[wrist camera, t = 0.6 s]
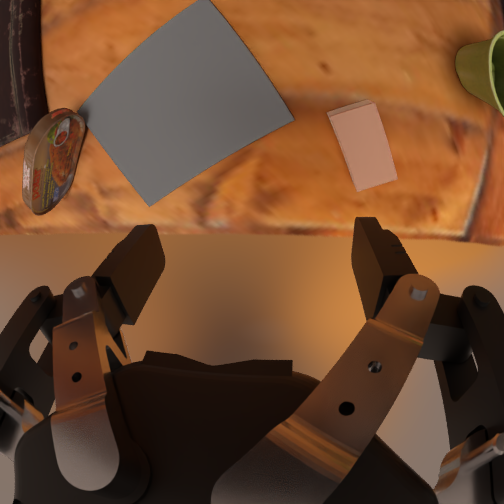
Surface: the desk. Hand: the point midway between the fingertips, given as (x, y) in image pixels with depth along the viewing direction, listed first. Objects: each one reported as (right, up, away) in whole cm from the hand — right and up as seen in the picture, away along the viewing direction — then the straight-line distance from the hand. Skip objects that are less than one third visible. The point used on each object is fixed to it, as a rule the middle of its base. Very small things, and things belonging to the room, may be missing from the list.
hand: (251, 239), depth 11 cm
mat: (-9, +15, +14) cm, 22 cm away
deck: (+11, +11, +14) cm, 21 cm away
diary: (-36, +28, +10) cm, 47 cm away
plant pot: (+24, +19, +6) cm, 31 cm away
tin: (-24, +13, +18) cm, 33 cm away
